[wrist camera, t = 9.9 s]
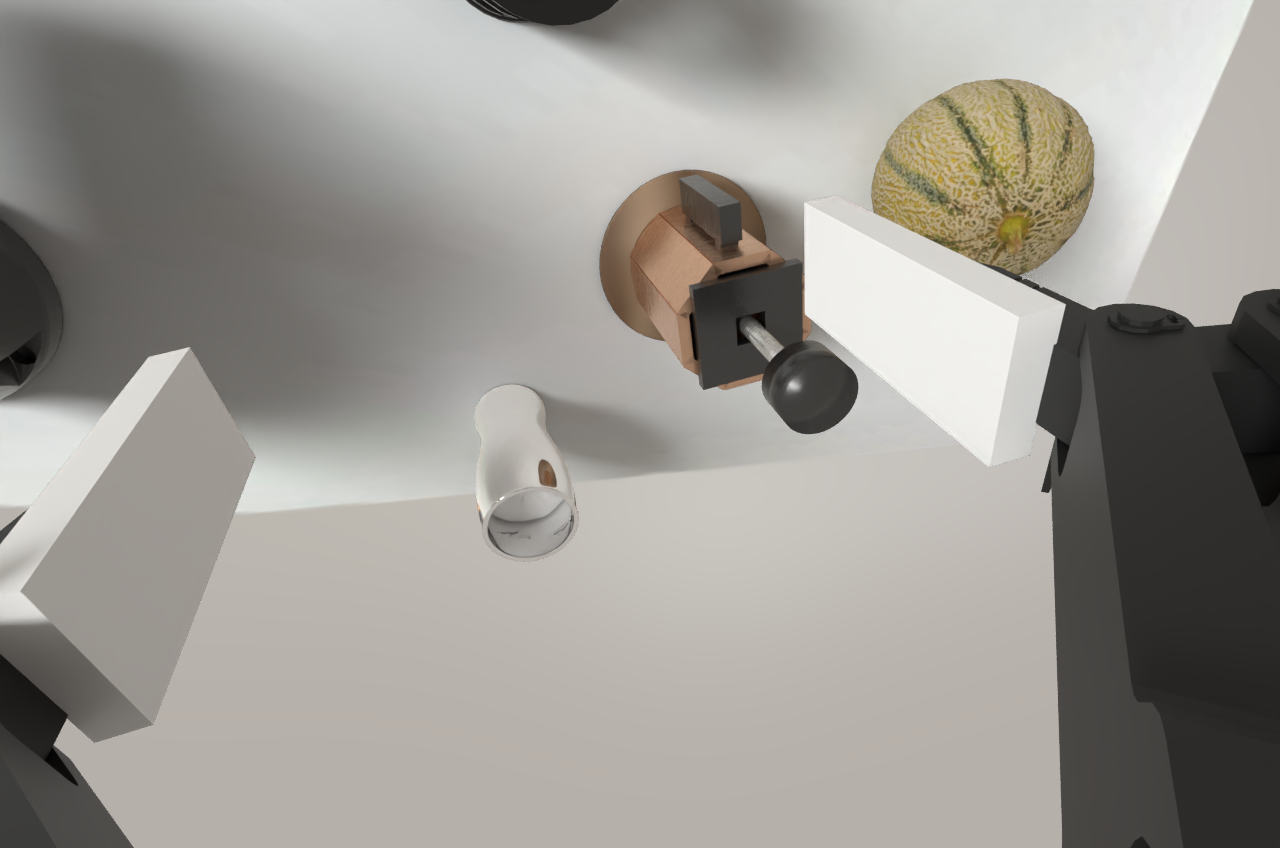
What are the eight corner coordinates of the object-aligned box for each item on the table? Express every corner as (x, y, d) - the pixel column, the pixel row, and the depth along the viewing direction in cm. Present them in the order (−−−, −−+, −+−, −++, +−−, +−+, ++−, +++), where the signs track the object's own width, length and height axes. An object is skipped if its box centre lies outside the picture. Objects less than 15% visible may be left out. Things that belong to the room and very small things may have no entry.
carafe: (639, 326, 56) (690, 406, 45) (616, 180, 49) (669, 232, 38) (742, 300, 57) (816, 371, 46) (733, 155, 50) (817, 197, 39)
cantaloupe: (1029, 126, 56) (1196, 161, 44) (920, 279, 61) (1042, 349, 49) (914, 28, 49) (1073, 37, 37) (803, 210, 55) (911, 270, 42)
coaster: (615, 355, 57) (616, 358, 57) (584, 191, 49) (585, 193, 49) (766, 316, 59) (768, 319, 59) (759, 152, 51) (762, 153, 51)
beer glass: (550, 444, 60) (581, 556, 48) (471, 451, 58) (482, 570, 46) (549, 376, 57) (582, 479, 44) (465, 382, 55) (475, 491, 43)
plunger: (661, 313, 53) (769, 458, 36) (651, 241, 50) (765, 364, 33) (731, 296, 54) (869, 429, 37) (726, 223, 51) (874, 334, 34)
